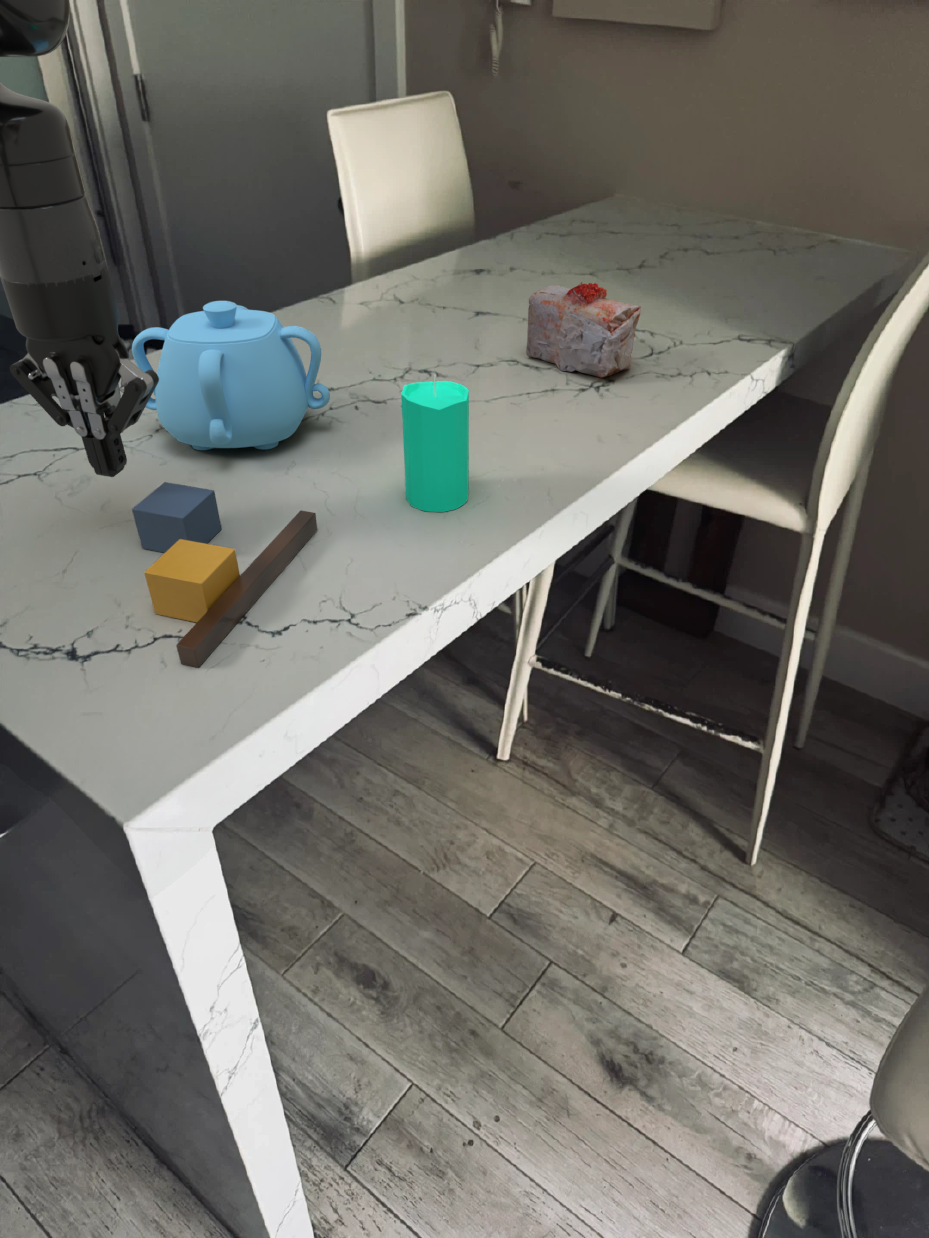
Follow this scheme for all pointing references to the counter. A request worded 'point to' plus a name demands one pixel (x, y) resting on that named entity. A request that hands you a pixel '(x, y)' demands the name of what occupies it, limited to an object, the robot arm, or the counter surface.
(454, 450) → the candle
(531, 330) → the food item
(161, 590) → the ochre block
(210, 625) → the straightedge
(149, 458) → the counter surface
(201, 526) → the slate block
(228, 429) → the decorative pot
